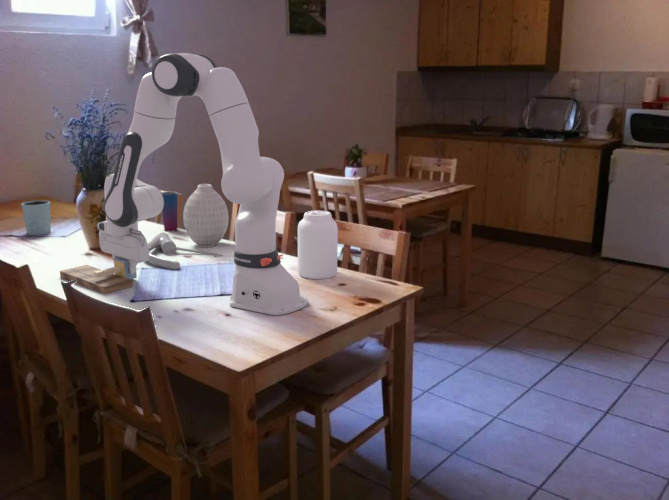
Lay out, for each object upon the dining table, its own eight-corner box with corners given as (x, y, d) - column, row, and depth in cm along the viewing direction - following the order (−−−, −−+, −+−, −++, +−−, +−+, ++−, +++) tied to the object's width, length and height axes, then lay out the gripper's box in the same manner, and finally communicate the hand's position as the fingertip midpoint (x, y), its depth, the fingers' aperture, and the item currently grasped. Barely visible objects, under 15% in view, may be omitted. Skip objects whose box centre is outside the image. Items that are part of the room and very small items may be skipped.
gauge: (136, 277, 195) (135, 258, 194) (101, 287, 186) (99, 267, 185) (127, 274, 198) (125, 255, 197) (91, 283, 189) (89, 264, 188)
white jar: (291, 277, 200) (291, 214, 195) (306, 266, 212) (306, 206, 207) (328, 281, 196) (329, 217, 191) (342, 270, 208) (343, 210, 202)
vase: (220, 251, 228) (218, 189, 222) (177, 249, 231) (174, 187, 225) (235, 240, 244) (233, 182, 238) (194, 238, 246) (191, 180, 240)
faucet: (230, 256, 232) (201, 279, 205) (157, 244, 235) (120, 264, 209) (231, 244, 230) (203, 265, 204) (157, 231, 234) (120, 250, 208)
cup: (171, 227, 264) (169, 190, 260) (183, 229, 260) (181, 192, 256) (158, 230, 258) (156, 193, 254) (169, 232, 254) (167, 195, 251)
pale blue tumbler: (26, 236, 245) (22, 205, 242) (23, 231, 253) (20, 201, 250) (54, 234, 250) (51, 203, 247) (51, 228, 258) (48, 199, 255)
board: (132, 286, 189) (131, 279, 189) (104, 293, 182) (104, 287, 182) (87, 270, 204) (86, 264, 203) (60, 277, 197) (59, 270, 196)
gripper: (152, 230, 187) (155, 275, 191) (112, 219, 199) (115, 262, 203) (134, 233, 182) (137, 280, 186) (94, 223, 195) (97, 266, 198)
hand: (125, 271), depth 195 cm, fingers closed on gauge, 5 cm apart
